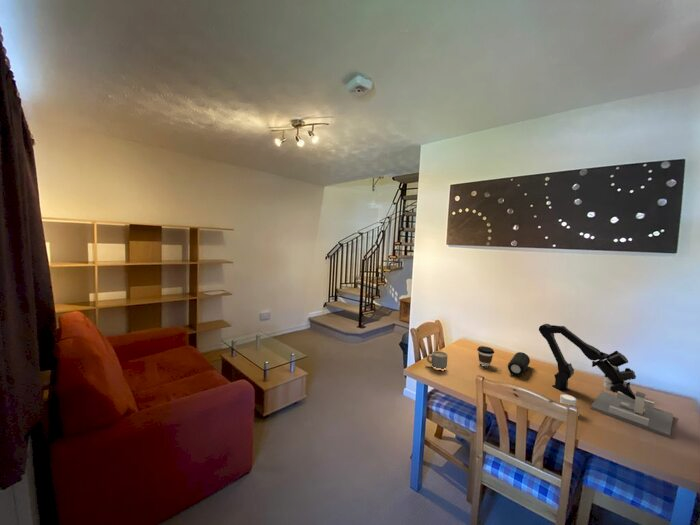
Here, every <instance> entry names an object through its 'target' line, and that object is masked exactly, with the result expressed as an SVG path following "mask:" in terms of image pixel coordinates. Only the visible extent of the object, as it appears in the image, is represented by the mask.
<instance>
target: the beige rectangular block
mask: <svg viewBox="0 0 700 525" xmlns="http://www.w3.org/2000/svg"><path fill="white" fill-rule="evenodd" d="M634 395H635V396H636V398H635V408H634V412H636V413H639V414H643V412H644V403H645V400H646V395H647V394H646V393H644V392H641V391H638V390H636V392H635V394H634Z"/></svg>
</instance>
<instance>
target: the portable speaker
mask: <svg viewBox="0 0 700 525" xmlns="http://www.w3.org/2000/svg"><path fill="white" fill-rule="evenodd" d="M530 363H531V360H530V357H529V356H528V354H526V353H525V352H523V351H519V352H516V353H515V354H514V355H513V356H512V358H511V359H510V360H509V362H508V363H507V370H508V371H509V373H510V374H511V375H513V376H514V377H520V376H522V375H524V374H525V372H526V370H527V368H528V366H529V364H530Z"/></svg>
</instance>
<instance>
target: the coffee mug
mask: <svg viewBox="0 0 700 525" xmlns="http://www.w3.org/2000/svg"><path fill="white" fill-rule="evenodd" d="M430 359H431V360H430ZM426 360H427V363H429V364H430V365H431V364H432V365H431V367H432V366H433V367H436V368H441V369H444V368H446V367H447V368H448V354H447V353H446V352H444V351H440V350H439V351H438V350H434V351H432V352H431V353H429V354H428V355H427V356H426Z"/></svg>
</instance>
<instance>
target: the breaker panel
mask: <svg viewBox="0 0 700 525" xmlns="http://www.w3.org/2000/svg"><path fill="white" fill-rule="evenodd" d="M635 397H636V396H635ZM634 408H635V400H634V399H632V398H630V397H628V396H627V395H625V394H623V393H621V392H619V391H617V394H615V393H614V394H613V393H612V392H611V393H610V392H608V391H604V390H601V391H600V392H599V394H598V396H597V397H596V398H595V399H594V400H593V402H592V404H591V405H590V409H591V411H592V410H593V411H596V412H599V413H601V414H603V415H606V416H609V417H611V418H614V419H617V420H620V421H623V422H626V423H628V424H631V425H633V426H636V427H639V428H642V429H644V430H647V431H649V432H652V433H654V434H657V435H661V436H663V437H666V438H669V439H670V438H671V432H672V425H673V420H674V413H672V412H669V411H667V410H664V409H660V408H657V407H655V402H654V401H652V400H649V399H645V403H644V412H643V414H639V413H636V412H634Z"/></svg>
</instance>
